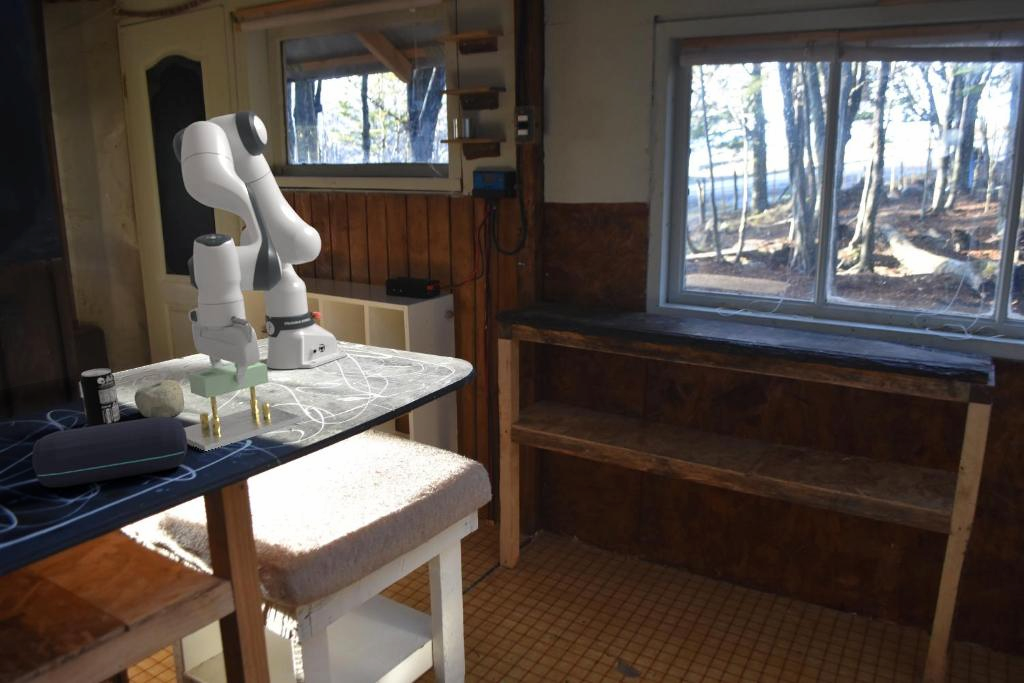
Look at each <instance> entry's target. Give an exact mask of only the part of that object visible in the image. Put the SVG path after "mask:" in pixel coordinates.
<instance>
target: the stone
mask: <svg viewBox="0 0 1024 683" xmlns="http://www.w3.org/2000/svg"><path fill="white" fill-rule="evenodd" d="M134 403H135V405H136V407H137V409H138V411H139V412H140V414H141V415H142V416H143V417H145V418H153V417H160V416H164V417H172V418H174V417H175V416H177V415H179V414H181V413H182V412H183V411H184V407H185V398H184V391H183V388H182V386H181V384H180V383H179V382H178V381H176V380H173V379H163V380H160V379H159V380H156V381H153V382H151V383H148V384H146V385H143V386H141V387H139V388H138V389H137V390H136V392H135V393H134Z"/></svg>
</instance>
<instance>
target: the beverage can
mask: <svg viewBox="0 0 1024 683" xmlns="http://www.w3.org/2000/svg"><path fill="white" fill-rule="evenodd" d="M80 376H81V378H80V380H79V382H80V387H81V388H80V389H81V393H82V394H81V395H82V401H83V408H84V412H85V420H86V423H87V426H88V427H91V426H98V425H105V424H112V423H119V422H120V420H121V412H120V407H119V402H118V401H119V399H118V395H117V388H116V387H117V386H116V382H115V376H114V375H113V373H112V371H111V369H110V368H93V369H90V370H85V371H83V372H82V373H81V375H80Z"/></svg>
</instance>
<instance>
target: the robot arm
mask: <svg viewBox="0 0 1024 683" xmlns="http://www.w3.org/2000/svg"><path fill="white" fill-rule="evenodd" d="M268 142H269V140H268V133H267V129H266V126H265V124H264V123H263V121H262V119H261V118H260V117H259V115H258V114H256V113H255V112H253V111H251V110H243V111H242V110H240V111H237V112H236V113H230V114H229V113H228V114H224V115H221V116H215V117H212V118H210V119H208V120H205V121H204V120H201V121H200V120H199V121H195V122H193V123H191V124H189V125H188V126H187V127H185V128H183V129H181V130H180V131H177V133H175V135H174V138H173V141H172V147H173V151H174V152H173V153H174V154H175V157H176V159H177V161H178V163H179V164H180V166H181V173H182V179H183V183H184V187H185V189H186V191H187V193H188V195H190V196H191V197H192V198H193V199H194V200H196V201H198V203H200V204H202V205H204V206H207V207H210V208H213V209H219V210H222V211H226V212H229V213H232V214H235V215H236V216H238V217H240V219H242V220H243V222H244V224H245V228H244V229H243V231H242V232H241V235H240V238H239V244H240V245H239V246H238V245H237V246H236V245H235V244H236V243H235V242H234V238H233V237H232V236H231V235H228V234H223V233H209V234H203V235H200V236H198V237H197V238H195V239H194V240H193V241H194V242H193V253H192V254H193V255H192V256H191V257H190V258H189V259H188V261H187V266H188V271H189V282H190V286H192V287H193V288H194V289H196V290H197V291H198V296H197V307H196V308H193V309H191V310H189V311H188V319H189V321H190V322H192V323H191V330H192V332H191V333H192V337H193V342H194V347H195V349H196V351H197V354H202V355H205V356H208V357H209V361H210V363H211V366H212V368H217V367H221V366H224V365H223V362H222V360H223V361H227V362H230V363H232V364H235V368H236V374H234V381H235V382H236V383H244V382H245V381H246V377H245V373H246V370H247V367H248V365H251V364H255V363H258V362H260V360H261V353H260V347H259V343H258V342H259V341H258V338H257V337H258V336H257V334H256V331H255V329H254V327H252V325H250V323H249V322H248V319H247V318H246V308H245V301H244V295H243V292H248V291H254V292H255V291H257V292H263V296H264V303H265V304H264V305H265V312H266V315H265V317H264V318H265V326H266V327H265V328H266V329H265V330H266V333H267V337H268V338H267V340H268V342H267V357H266V358H267V359H266V363H265V364H267V368H270V369H275V370H291V369H293V370H294V369H295V370H296V369H312V368H313V369H314V368H315V367H319V366H322V365H324V364H327V363H330V362H333V361H336V360H339V359H342V358H344V357H347V355H348V354H347V352H346V350H344V349H341V348H339V347H338V342H337V338H336V337H335V335H334V334H333V333H332V332H330V331H328V330H327V329H325V328H323V327H321V326H320V325H319V324H317V323H316V322H315V320H321V318H322V316H323V314H322V313H321V312H320V311H319V312H318V311H313V312H312V311H310V310H309V308H308V297H307V287H306V283H305V281H304V280H302V278H300V277H299V275H298V274H297V272H296V271H295V269H294V267H293V265H301V264H302V265H303V264H306V263H310V262H313V261H315V260H316V259H317V258H318V256H319V255H320V253H321V249H322V240H321V237H320V233H319V232H318V231H317V230H316V229H315V228H314V227H312V226H311V225H309V224H308V223H307V222H305V221H304V220H303V219H302V218H301V217H300V215H298V214H297V212H295V210H294V209H293V208H292V207H291V205H290V203H288V201H287V200H286V199H285V197H284V195H283V193H282V191H281V190H280V188H279V185H278V183H277V181H276V178H275V176H274V174H273V173H272V170H271V168H270V166H269V164H268V162H267V159H266V158H265V156H264V154H263V152H264V151H265V150H266V148H267V146H268Z"/></svg>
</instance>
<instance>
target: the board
mask: <svg viewBox="0 0 1024 683" xmlns="http://www.w3.org/2000/svg"><path fill="white" fill-rule="evenodd" d="M234 374H236V368H235V364H234V363H230V364H226V365H223V366H221V367H217V368H213V367H212V368H208V369H204V370H200V371H196V372H190V373H188V381H189V388H190V394H194V395H197V396H199V397H202V398H205V399H208V398H209V399H211V398H210V397H214V396H215V397H218V396H220V395H225V394H229V393H233V392H237V391H241V390H244V389H248V388H249V389H250V387H253V386H255V387H257V386H260V385H263V384H269V375H268V367H267V364H266V363H264V362H260V361H259V362H258V363H255V364H251V365H248V367H247V370H246V373H245V377H246V381H245V382H244V383H236V382H235V381H234Z"/></svg>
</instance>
